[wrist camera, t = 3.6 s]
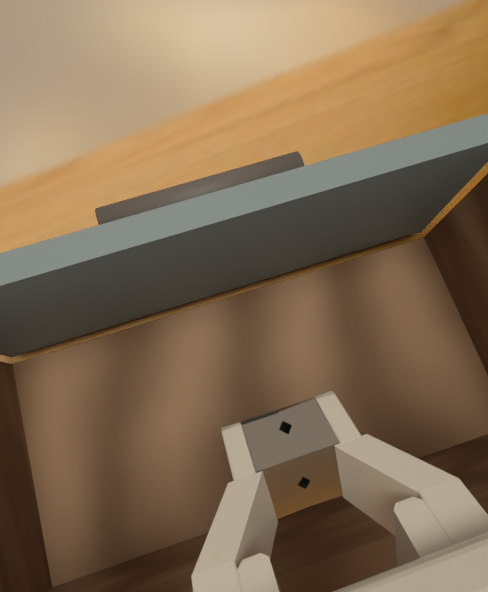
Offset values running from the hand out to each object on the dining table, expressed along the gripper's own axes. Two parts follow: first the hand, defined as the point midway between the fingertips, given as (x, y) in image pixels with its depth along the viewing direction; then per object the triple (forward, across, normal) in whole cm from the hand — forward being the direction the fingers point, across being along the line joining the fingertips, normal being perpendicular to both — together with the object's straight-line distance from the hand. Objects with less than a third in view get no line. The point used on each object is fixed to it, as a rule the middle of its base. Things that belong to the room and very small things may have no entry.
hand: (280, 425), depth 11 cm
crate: (+10, 0, +8) cm, 13 cm away
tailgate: (+14, 0, +3) cm, 14 cm away
